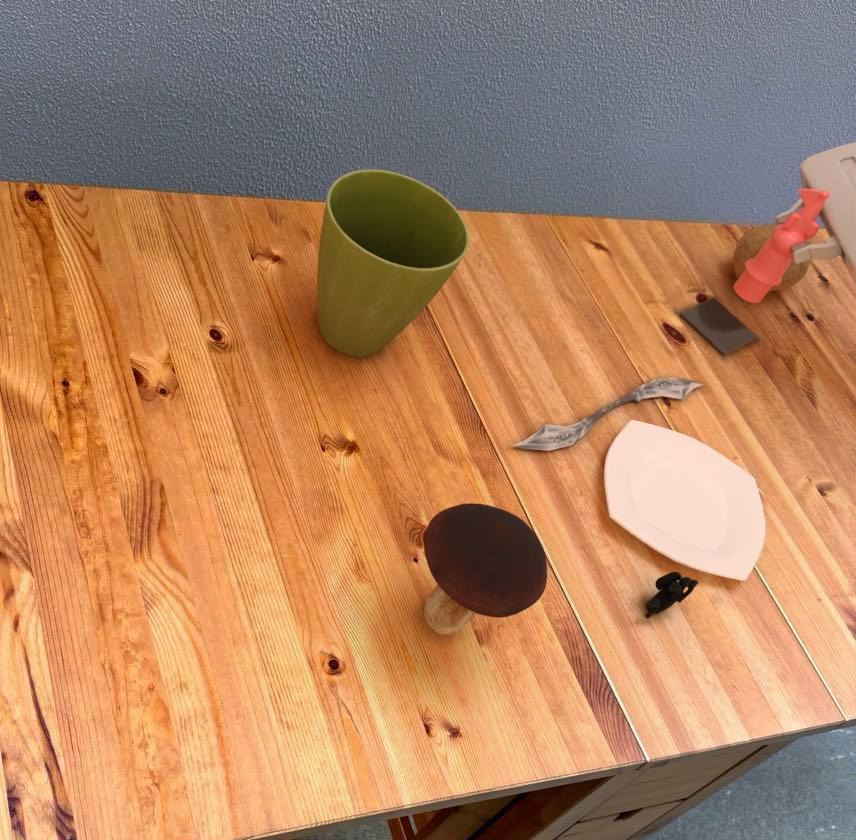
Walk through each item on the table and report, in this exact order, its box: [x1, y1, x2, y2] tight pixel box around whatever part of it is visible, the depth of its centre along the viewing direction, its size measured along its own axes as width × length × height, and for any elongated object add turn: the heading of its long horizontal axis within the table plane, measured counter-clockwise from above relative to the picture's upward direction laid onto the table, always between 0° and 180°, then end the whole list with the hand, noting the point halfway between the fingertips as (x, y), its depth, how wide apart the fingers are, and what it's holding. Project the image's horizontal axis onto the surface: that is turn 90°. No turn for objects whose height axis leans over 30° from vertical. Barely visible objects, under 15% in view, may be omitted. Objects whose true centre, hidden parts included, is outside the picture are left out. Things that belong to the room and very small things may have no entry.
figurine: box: [733, 188, 830, 304], centre depth 118 cm, size 5×5×15 cm
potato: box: [733, 222, 813, 293], centre depth 135 cm, size 10×14×8 cm
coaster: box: [679, 297, 758, 357], centre depth 129 cm, size 8×8×1 cm
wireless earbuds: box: [644, 571, 699, 619], centre depth 96 cm, size 7×2×5 cm, turn 121°
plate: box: [603, 419, 766, 582], centre depth 107 cm, size 19×19×2 cm
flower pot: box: [316, 168, 470, 359], centre depth 103 cm, size 15×15×16 cm
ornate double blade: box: [511, 376, 704, 451], centre depth 113 cm, size 32×1×5 cm
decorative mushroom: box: [423, 502, 548, 636], centre depth 84 cm, size 11×11×15 cm
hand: (784, 240), depth 117 cm, fingers closed on figurine, 4 cm apart
